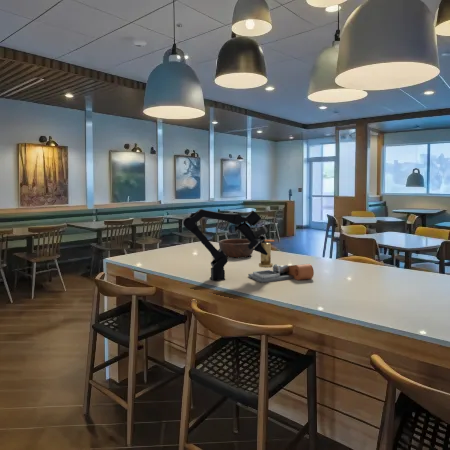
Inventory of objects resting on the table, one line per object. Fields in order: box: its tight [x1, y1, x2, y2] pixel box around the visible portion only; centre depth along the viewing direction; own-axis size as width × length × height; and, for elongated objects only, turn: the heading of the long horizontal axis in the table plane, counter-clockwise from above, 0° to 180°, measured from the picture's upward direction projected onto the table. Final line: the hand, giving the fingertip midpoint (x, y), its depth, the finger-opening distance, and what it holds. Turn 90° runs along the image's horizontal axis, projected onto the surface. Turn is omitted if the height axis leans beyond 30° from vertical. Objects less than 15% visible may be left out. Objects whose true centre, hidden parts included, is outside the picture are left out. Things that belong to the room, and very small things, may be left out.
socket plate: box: [247, 263, 295, 284], centre depth 206 cm, size 20×14×7 cm
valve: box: [258, 239, 275, 269], centre depth 202 cm, size 8×7×14 cm
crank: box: [288, 263, 315, 281], centre depth 208 cm, size 20×8×8 cm, turn 19°
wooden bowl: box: [218, 238, 254, 259], centre depth 270 cm, size 25×25×10 cm
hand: (268, 253), depth 202 cm, fingers closed on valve, 5 cm apart
